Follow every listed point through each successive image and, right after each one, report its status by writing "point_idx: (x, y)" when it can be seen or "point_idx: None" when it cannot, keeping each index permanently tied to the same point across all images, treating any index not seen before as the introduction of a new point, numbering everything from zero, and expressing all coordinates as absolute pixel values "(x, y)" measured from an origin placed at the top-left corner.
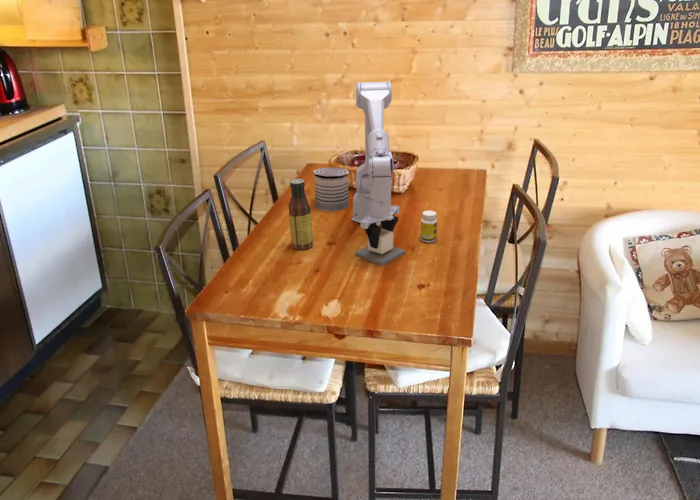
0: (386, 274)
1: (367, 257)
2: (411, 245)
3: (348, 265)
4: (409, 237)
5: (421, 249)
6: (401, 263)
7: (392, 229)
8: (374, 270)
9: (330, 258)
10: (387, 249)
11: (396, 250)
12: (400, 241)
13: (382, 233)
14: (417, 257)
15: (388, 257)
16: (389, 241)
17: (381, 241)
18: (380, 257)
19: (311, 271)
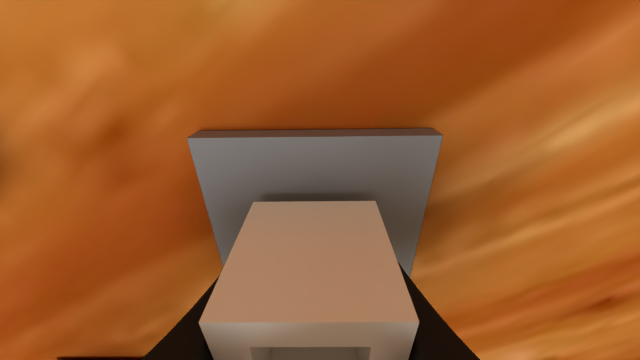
0: (547, 18)
1: (417, 239)
2: (93, 172)
3: (506, 254)
4: (51, 235)
5: (58, 86)
6: (327, 51)
7: (173, 356)
8: (513, 128)
9: (472, 325)
10: (313, 208)
11: (237, 179)
12: (124, 239)
13: (266, 348)
14: (162, 17)
15: (352, 155)
16: (283, 248)
17: (404, 281)
18: (384, 190)
19: (615, 312)
